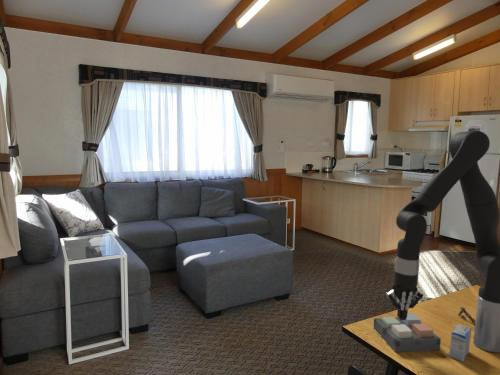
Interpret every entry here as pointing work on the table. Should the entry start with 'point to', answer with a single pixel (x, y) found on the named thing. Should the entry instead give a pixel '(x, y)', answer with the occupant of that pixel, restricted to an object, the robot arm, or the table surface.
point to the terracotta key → (422, 330)
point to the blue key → (411, 320)
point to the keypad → (406, 339)
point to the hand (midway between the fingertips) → (401, 319)
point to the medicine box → (460, 342)
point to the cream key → (401, 331)
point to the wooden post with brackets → (466, 315)
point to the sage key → (389, 321)
